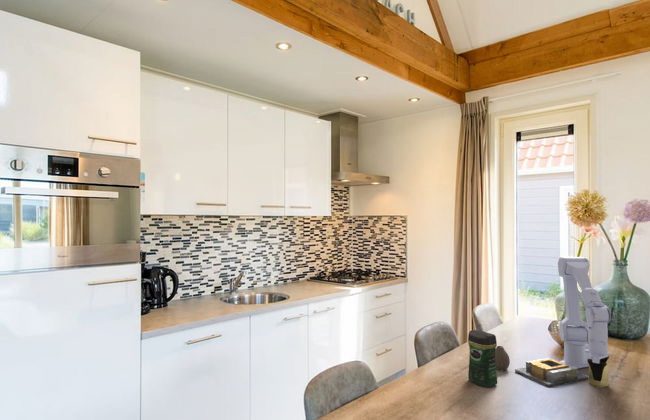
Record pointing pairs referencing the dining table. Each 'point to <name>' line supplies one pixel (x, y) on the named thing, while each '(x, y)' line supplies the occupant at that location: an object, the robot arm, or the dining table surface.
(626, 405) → the dining table surface
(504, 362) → the vase
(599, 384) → the rectangular block
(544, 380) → the rosette base
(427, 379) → the dining table surface
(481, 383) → the coffee jar
